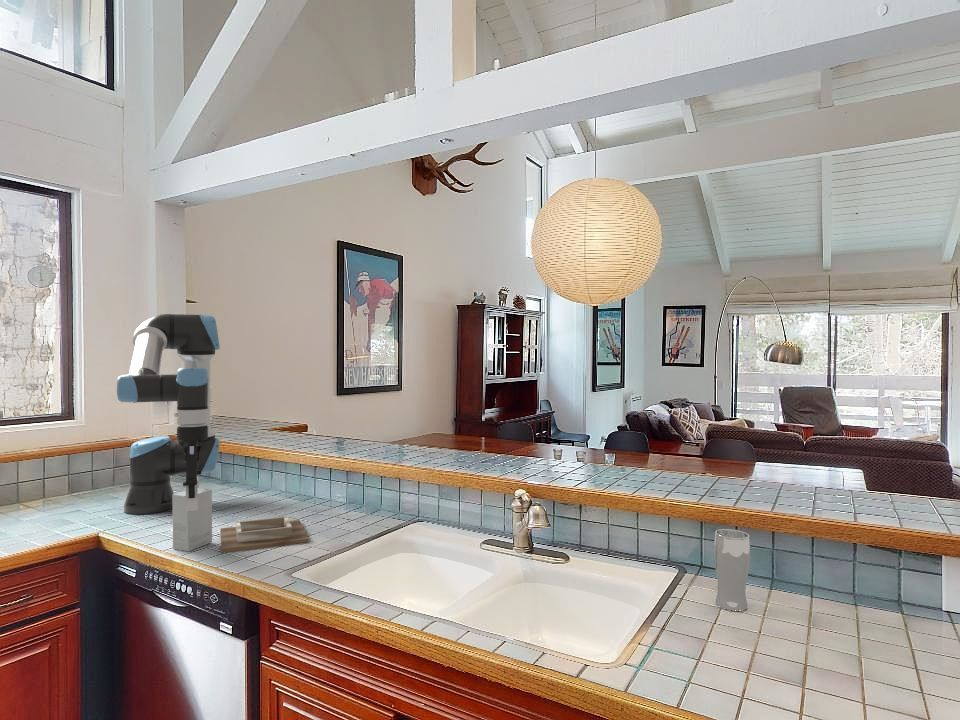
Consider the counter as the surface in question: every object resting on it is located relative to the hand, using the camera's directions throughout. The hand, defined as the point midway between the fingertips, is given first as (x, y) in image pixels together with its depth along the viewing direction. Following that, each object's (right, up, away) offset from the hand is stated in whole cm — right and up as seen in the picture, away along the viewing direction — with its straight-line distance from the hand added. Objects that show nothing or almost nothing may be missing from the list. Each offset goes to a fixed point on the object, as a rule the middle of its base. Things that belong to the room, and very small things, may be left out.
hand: (192, 504), depth 158 cm
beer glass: (+129, -12, -36) cm, 134 cm away
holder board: (+16, -11, +9) cm, 21 cm away
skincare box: (0, -11, 0) cm, 11 cm away
